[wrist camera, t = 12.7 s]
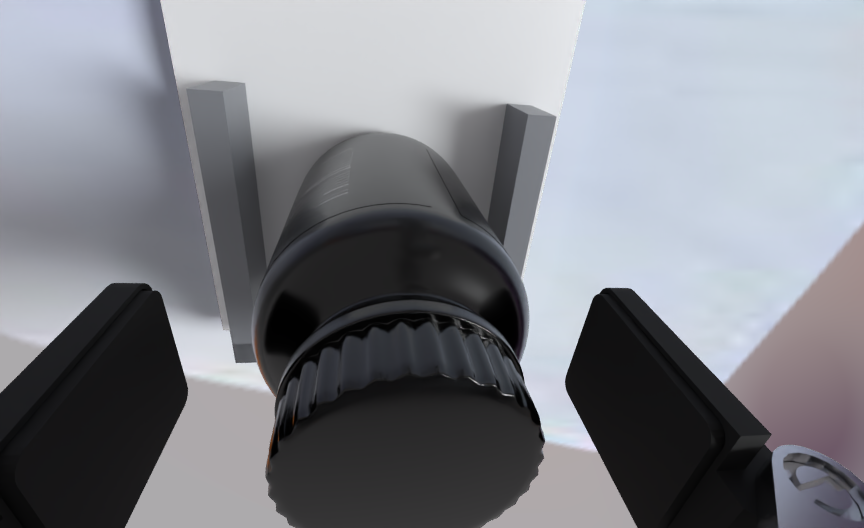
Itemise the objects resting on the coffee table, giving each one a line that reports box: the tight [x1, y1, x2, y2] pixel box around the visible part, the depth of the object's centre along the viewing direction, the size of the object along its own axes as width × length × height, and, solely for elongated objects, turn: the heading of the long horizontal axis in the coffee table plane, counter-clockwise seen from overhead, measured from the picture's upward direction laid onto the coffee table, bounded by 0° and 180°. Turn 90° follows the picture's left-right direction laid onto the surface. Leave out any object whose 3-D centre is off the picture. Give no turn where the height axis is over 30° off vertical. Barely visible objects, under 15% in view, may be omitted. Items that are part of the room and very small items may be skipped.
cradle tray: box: [160, 0, 586, 363], centre depth 16 cm, size 15×14×4 cm
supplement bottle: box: [251, 133, 545, 528], centre depth 12 cm, size 7×7×12 cm
